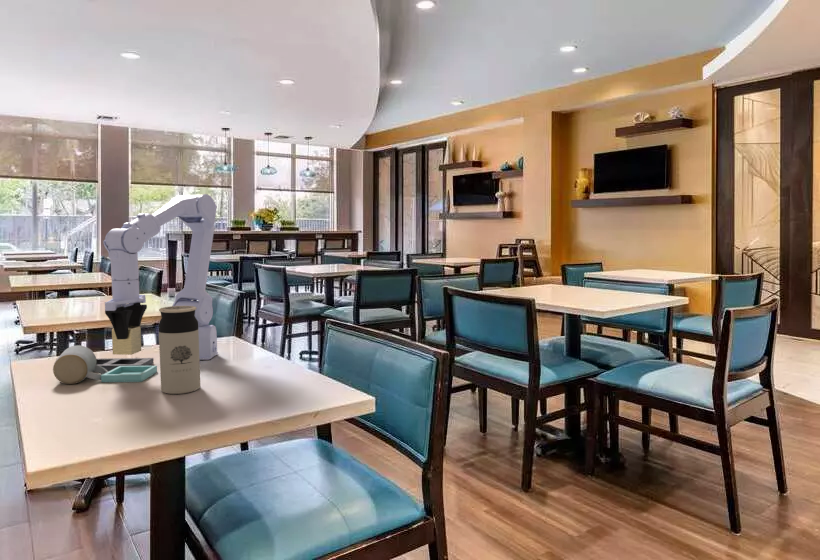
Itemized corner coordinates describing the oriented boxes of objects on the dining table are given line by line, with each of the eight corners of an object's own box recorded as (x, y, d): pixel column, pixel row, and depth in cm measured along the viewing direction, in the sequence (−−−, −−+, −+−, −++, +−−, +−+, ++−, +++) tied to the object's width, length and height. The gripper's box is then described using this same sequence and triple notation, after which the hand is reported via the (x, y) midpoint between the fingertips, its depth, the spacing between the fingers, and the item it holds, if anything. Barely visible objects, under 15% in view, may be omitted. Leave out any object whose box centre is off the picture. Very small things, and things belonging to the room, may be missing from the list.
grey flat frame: (153, 363, 151) (153, 357, 150) (140, 371, 143) (140, 365, 142) (83, 364, 150) (82, 358, 150) (65, 371, 142) (65, 365, 142)
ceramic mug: (51, 386, 129) (50, 352, 128) (61, 377, 137) (60, 345, 136) (104, 383, 132) (103, 350, 131) (111, 375, 140) (110, 343, 139)
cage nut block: (123, 350, 140) (122, 325, 139) (141, 350, 139) (140, 325, 139) (112, 354, 135) (111, 328, 135) (131, 354, 135) (130, 328, 134)
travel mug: (165, 386, 129) (162, 306, 128) (202, 383, 131) (200, 304, 129) (157, 396, 122) (153, 311, 120) (197, 393, 123) (194, 309, 122)
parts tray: (157, 372, 142) (156, 365, 142) (141, 381, 133) (141, 374, 133) (119, 372, 141) (119, 366, 141) (101, 382, 133) (101, 375, 132)
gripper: (125, 282, 128) (128, 343, 130) (156, 277, 143) (158, 331, 144) (94, 282, 129) (97, 342, 130) (128, 277, 143) (131, 331, 144)
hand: (127, 337), depth 137 cm, fingers closed on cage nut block, 4 cm apart
